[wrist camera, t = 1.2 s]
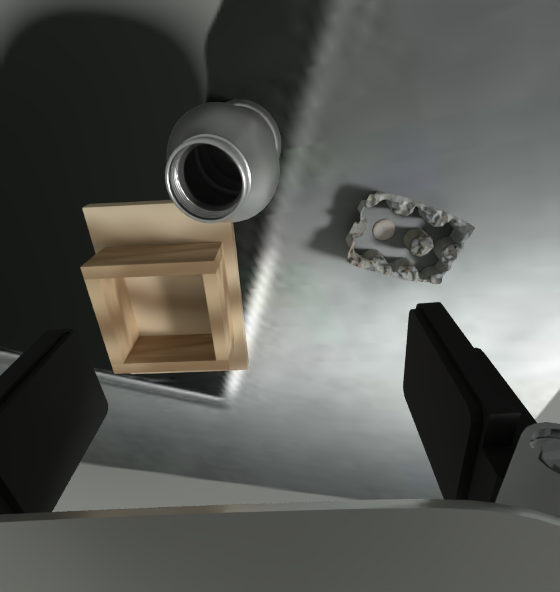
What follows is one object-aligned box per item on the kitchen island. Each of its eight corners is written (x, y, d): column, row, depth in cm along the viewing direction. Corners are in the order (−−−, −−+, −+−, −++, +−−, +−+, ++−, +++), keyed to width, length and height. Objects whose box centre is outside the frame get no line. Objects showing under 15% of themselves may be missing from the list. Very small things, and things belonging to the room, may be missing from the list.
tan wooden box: (89, 203, 37) (53, 222, 31) (230, 196, 37) (220, 214, 31) (135, 366, 46) (114, 403, 41) (248, 361, 46) (243, 399, 40)
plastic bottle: (254, 83, 32) (219, 61, 14) (295, 154, 35) (306, 209, 17) (195, 126, 34) (96, 154, 16) (237, 191, 36) (194, 277, 19)
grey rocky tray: (336, 248, 39) (341, 263, 36) (367, 179, 36) (376, 187, 33) (426, 280, 41) (440, 297, 37) (464, 216, 38) (483, 228, 34)
